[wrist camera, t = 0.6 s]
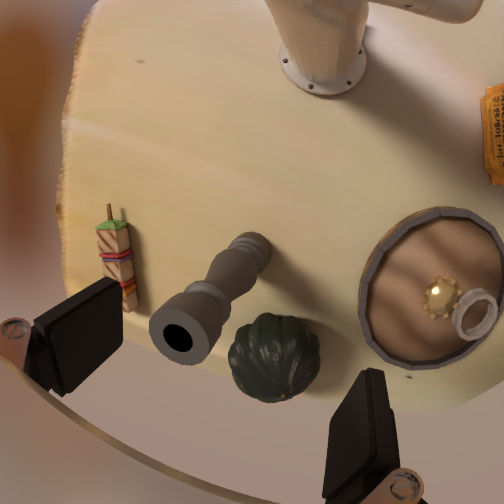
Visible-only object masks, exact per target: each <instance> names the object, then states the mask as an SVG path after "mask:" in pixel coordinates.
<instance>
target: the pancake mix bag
mask: <svg viewBox="0 0 504 504" xmlns="http://www.w3.org/2000/svg"><path fill="white" fill-rule="evenodd" d="M481 115H482V128H483V141H484V170H485V171H486V172H487V173H488V174H489V175H490V176H491V181H492V186H493V185H499V184H501V185H503V186H504V83H503V84H499V85H495V86H487V93H486V95H485V96H484V97H482V98H481Z"/></svg>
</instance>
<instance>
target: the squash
mask: <svg viewBox="0 0 504 504" xmlns="http://www.w3.org/2000/svg"><path fill="white" fill-rule="evenodd" d="M319 348H320V342H319V340H318V338H317V336H316V335H315V334H314V333H312V332H311V331H308V330H307V329H306V327H305V326H304V324H303V323H302V322H301V321H300V320H298V319H297V318H296V317H294V316H285V317H284V318H282V319H281V320H280V319H278V318H277V317H276V316H275V315H274V314H272V313H263V314H261V315H259V316H258V317H257V318H256V320H255V321H254V322H253V324H247V325H245V326H243V327H240V328H239V329H238V330H237V332H236V336H235V342H234V343H233V344H232V345H231V347H230V350H229V352H228V361H229V365H230V368H231V370H232V375H233V379H234V381H235V383H236V385H237V386H238V388H239V389H240V390H241V391H242V392H243V393H245V394H247V395H249V396H250V397H252V398H256V399H258V400H260V401H262V402H266V403H276V402H279V401H286V400H288V399H291V398H293V397H294V396H296V395H298V394H300V393H302V392H303V391H304V390H305V389H306V388H307V387H308V386H309V384H310V383H311V382H312V381H313V380H314V379H315V377H316V376H317V374H318V372H319V368H320V362H321V360H320V355H319Z"/></svg>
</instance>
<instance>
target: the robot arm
mask: <svg viewBox="0 0 504 504" xmlns="http://www.w3.org/2000/svg"><path fill="white" fill-rule="evenodd" d="M265 2H266V4H267V5H268V7H269V9H270V11H271V14H272V16H273V18H274V21H275V23H276V25H277V28H278V30H279V33H280V35H281V37H282V40H283V42H282V44H281V47H280V55H279V57H280V63H281V66H282V68H283V71H284V72H285V74H286V76H287V77H288V78H289V79H290V81H291V82H293V83H294V84H295V85H296V86H297V87H299V88H301V89H302V90H304V91H307V92H309V93H312V94H317V95H326V96H329V95H337V94H340V93H344V92H346V91H348V90H350V89H351V88H353V87H354V86H355V85H356V84H357V83H358V82H359V81H360V79H361V78H362V76H363V74H364V71H365V68H366V54H365V51H364V48H363V46H362V44H361V41H362V38H363V34H364V30H365V26H366V22H367V18H368V12H369V5H368V2H373V3H377V4H382V5H386V6H390V7H394V8H398V9H401V10H405V11H408V12H412V13H415V14H419V15H422V16H425V17H428V18H431V19H435V20H438V21H441V22H445V23H451V24H461V23H465V22H468V21H470V20H471V19H472V18H473V17H475V16H476V14H477V13H478V12H479V10H480V8H481V7H482V4H483V2H484V0H265ZM358 53H361V54H358ZM285 62H288V63H286V64H285ZM347 82H350V83H351V84H350V85H348V84H347ZM310 87H313V89H310ZM122 342H123V288H122V287H121V284H120V282H119V281H117V280H115V279H113V278H110V277H108V276H106V277H104V278H102V279H100V280H99V281H97V282H95V283H93V284H92V285H90V286H88V287H87V288H85V289H83V290H82V291H80V292H78V293H76V294H75V295H73V296H71V297H70V298H68V299H66V300H65V301H63V302H62V303H60V304H58V305H57V306H55V307H53V308H52V309H50V310H48V311H47V312H45V313H44V314H42V315H40V316H39V317H37V318H36V319H34V326H32V327H31V325H30V323H29V322H28V321H27V320H25V319H23V318H19V317H17V318H10V319H7V320H5V321H4V322H2V323H1V324H0V504H280V503H276V502H272V501H268V500H263V499H260V498H256V497H252V496H249V495H245V494H241V493H238V492H235V491H232V490H229V489H226V488H223V487H220V486H217V485H214V484H211V483H209V482H206V481H203V480H201V479H198V478H195V477H193V476H190V475H188V474H186V473H183V472H181V471H179V470H176V469H174V468H172V467H169V466H167V465H165V464H163V463H161V462H159V461H157V460H155V459H152V458H150V457H148V456H147V455H144V454H143V453H141V452H139V451H137V450H135V449H133V448H131V447H129V446H128V445H126V444H124V443H122V442H121V441H119V440H117V439H115V438H114V437H112V436H110V435H109V434H107V433H105V432H104V431H102V430H101V429H99V428H98V427H96V426H94V425H93V424H91V423H90V422H88V421H87V420H85V419H84V418H82V417H81V416H79V415H78V414H77V413H75V412H74V411H72V410H71V409H70V408H68V407H67V406H65V405H64V404H63V403H61V402H60V401H59V400H58V399H56V398H55V397H54V396H52V395H51V394H50V393H49V390H50V389H51V388H52V390H53V391H54V392H55V393H57V394H58V395H59V396H61V397H63V396H64V395H65V394H66V393H71V392H73V391H74V390H75V389H76V388H77V387H78V386H79V385H80V384H81V383H82V382H83V381H84V380H85V379H86V378H87V377H88V376H89V375H90V374H92V373H93V372H94V371H95V370H96V369H97V368H98V367H99V366H100V365H101V364H102V363H103V362H104V361H105V360H106V359H108V358H109V357H110V356H111V355H112V354H113V353H114V352H115V351H116V350H117V349H118V348H119V347H120V346H121V345H122ZM423 493H424V484H423V481H422V479H421V477H420V476H419V475H418V474H417V473H416V472H414V471H413V470H411V469H407V468H400V458H399V449H398V441H397V433H396V426H395V418H394V412H393V410H392V409H391V408H390V404H389V398H388V392H387V386H386V380H385V375H384V371H382V370H378V369H374V368H367V369H366V371H365V370H362V371H361V372H360V374H359V375H358V377H357V379H356V380H355V382H354V384H353V385H352V387H351V388H350V390H349V392H348V393H347V395H346V396H345V398H344V399H343V401H342V403H341V404H340V406H339V407H338V409H337V410H336V412H335V413H334V415H333V416H332V418H331V421H330V425H329V437H328V448H327V458H326V468H325V476H324V484H323V492H322V497H323V498H325V499H326V502H325V504H428V503H427V502H426V501H424V500H423V499H422V498H421V497H422V495H423Z"/></svg>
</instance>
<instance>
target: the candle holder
mask: <svg viewBox="0 0 504 504" xmlns="http://www.w3.org/2000/svg"><path fill="white" fill-rule="evenodd" d="M270 256H271V248H270V244H269V243H268V241H267V239H266V238H265V237H263V236H262V235H261V234H259V233H255V232H246V233H243V234H241V235H240V236H238V237H237V238H236V239H235V240H233V241H232V242H231V244H230V245H229V247H228V249H225V250H224V251H222V252H220V253H219V254H217V255H216V257H215V258H214V260H213V261H212V263H211V266H210V268H209V271H208V274H207V276H206V278H205V279H204V280H203V281H195V282H194V283H192V284H190V285H188V286H187V288H186V289H185V291H184V292H183V293H178V294H177V295H175V296H173V297H171V298H170V299H169V300H168V301H167V302H166V303H165V304H164V305H162V306H161V307H160V308H159V309H158V310H157V311H156V312H155V313H154V314H153V315H152V317H151V319H150V321H149V333H150V336H151V339H152V341H153V343H154V345H155V346H156V347H157V349H158V350H159V351H160V352H161V353H162V354H163V355H164V356H166V357H167V358H168V359H170V360H171V361H174V362H177V363H179V364H181V365H192V366H193V365H196V364H198V363H201V362H203V360H204V359H205V358H206V357H207V356H208V354H209V353H210V351H211V350H212V348H213V347H214V345H215V343H216V342H217V340H218V339H219V337H220V335H221V331H222V325H224V323H225V322H226V321H227V320H228V318H229V317H230V312H231V302H232V301H233V300H235V299H236V298H238V297H240V296H241V295H243V294H245V293H246V292H248V291H250V289H251V288H252V287H253V286H254V284H255V283H256V280H257V276H258V274H259V273H261V272H262V271H263V269H264V268H265V267H266V265H267V263H268V262H269V260H270Z"/></svg>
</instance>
